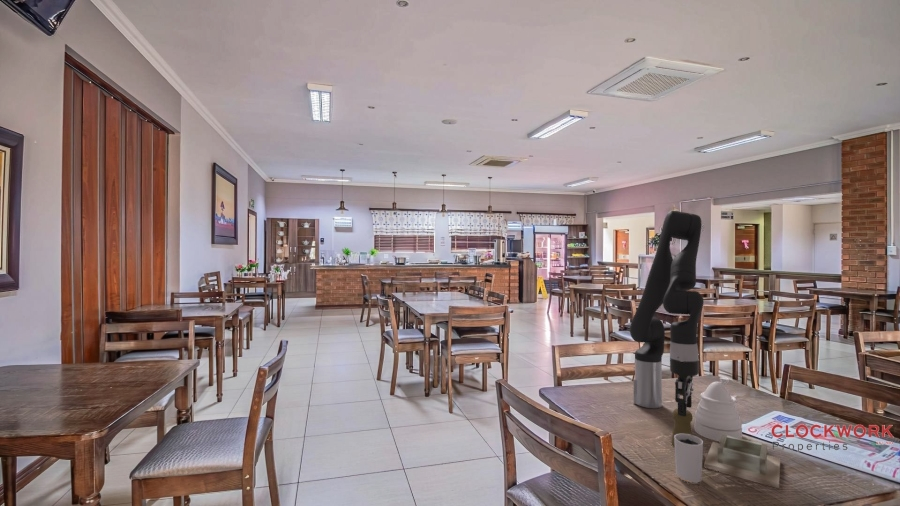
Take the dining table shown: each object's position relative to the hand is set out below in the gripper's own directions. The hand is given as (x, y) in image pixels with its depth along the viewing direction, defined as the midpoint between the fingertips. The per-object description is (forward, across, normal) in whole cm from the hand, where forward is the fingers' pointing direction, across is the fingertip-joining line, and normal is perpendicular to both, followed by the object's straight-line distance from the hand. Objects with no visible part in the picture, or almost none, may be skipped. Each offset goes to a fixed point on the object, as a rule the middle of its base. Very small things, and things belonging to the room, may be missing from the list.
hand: (684, 411), depth 125 cm
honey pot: (+11, -17, +6) cm, 21 cm away
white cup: (+11, +18, +4) cm, 22 cm away
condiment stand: (+11, +2, +14) cm, 18 cm away
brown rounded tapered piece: (+11, 0, -1) cm, 11 cm away
